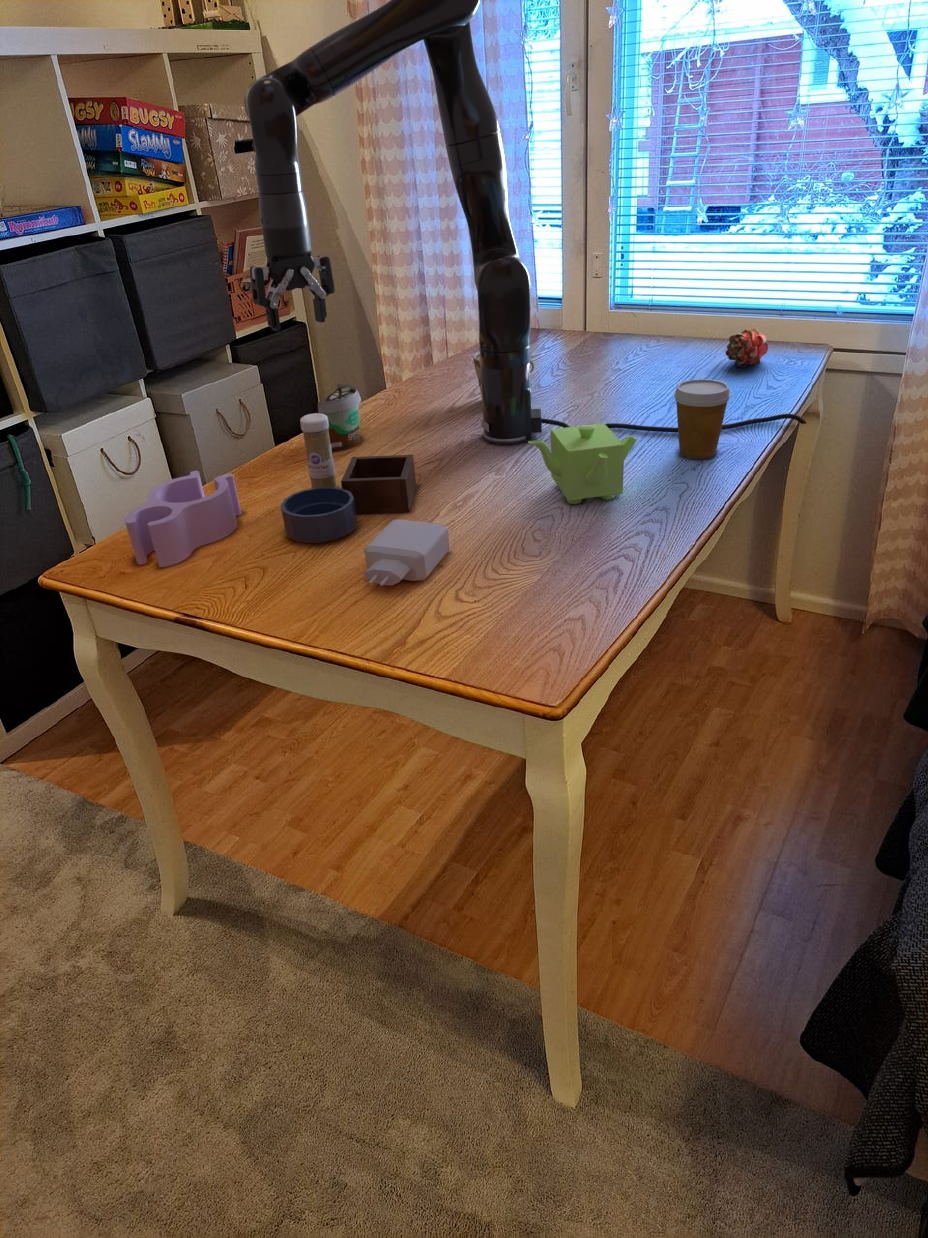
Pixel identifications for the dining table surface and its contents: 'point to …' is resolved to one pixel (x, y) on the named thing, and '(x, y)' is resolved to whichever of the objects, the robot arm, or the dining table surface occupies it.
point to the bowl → (319, 514)
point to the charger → (405, 551)
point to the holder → (381, 483)
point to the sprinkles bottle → (318, 450)
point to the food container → (342, 416)
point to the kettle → (586, 461)
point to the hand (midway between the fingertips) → (298, 325)
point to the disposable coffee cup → (700, 416)
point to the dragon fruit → (747, 347)
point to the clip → (182, 518)
